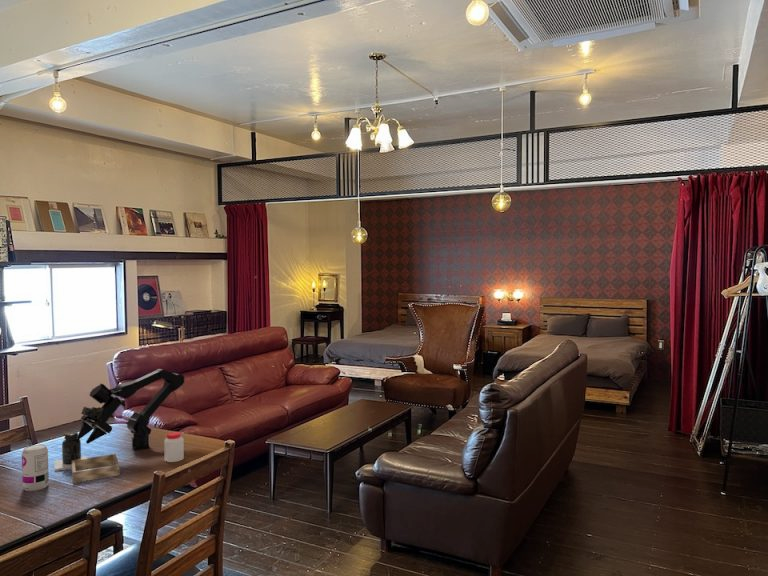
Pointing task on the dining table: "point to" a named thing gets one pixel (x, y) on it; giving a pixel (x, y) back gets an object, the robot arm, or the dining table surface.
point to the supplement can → (35, 467)
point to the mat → (61, 466)
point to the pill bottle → (174, 447)
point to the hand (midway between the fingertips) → (82, 440)
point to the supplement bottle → (71, 448)
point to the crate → (95, 472)
